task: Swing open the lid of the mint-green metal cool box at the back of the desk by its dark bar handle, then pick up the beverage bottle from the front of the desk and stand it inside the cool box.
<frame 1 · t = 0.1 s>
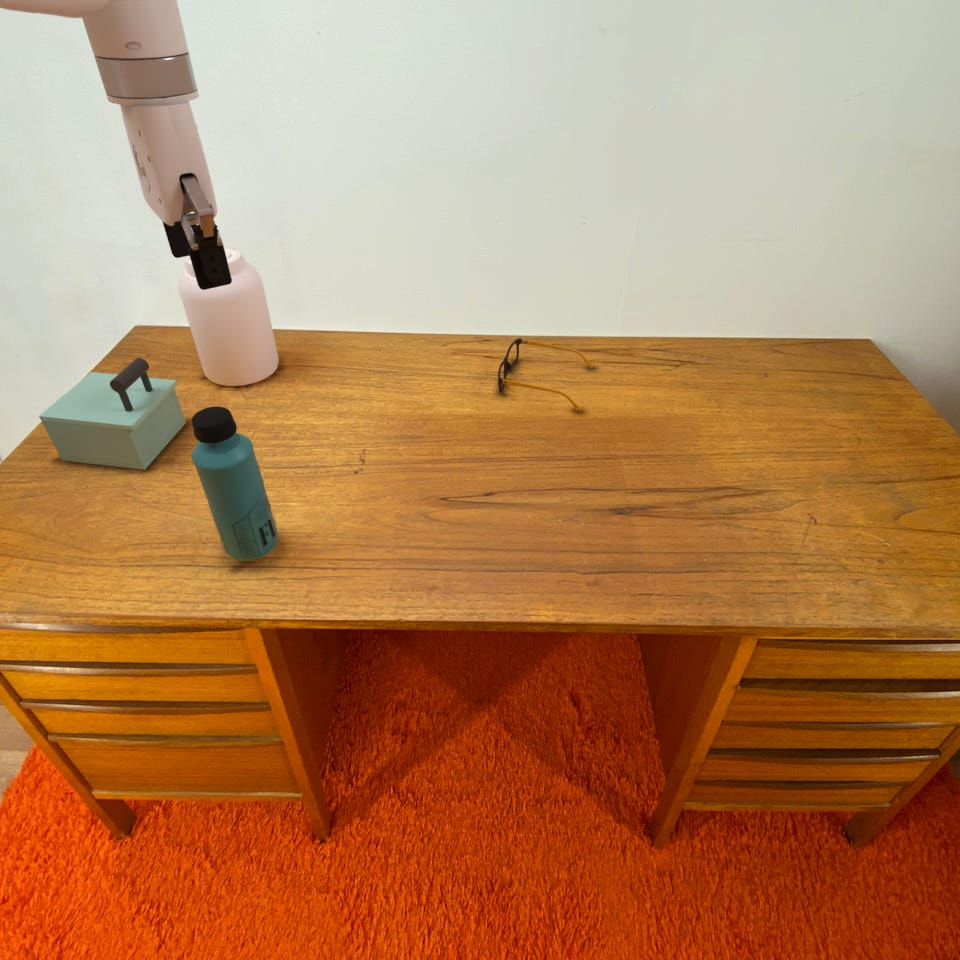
hand: (201, 269, 67), 30 cm above the table, tool pointing down, fingers open, 9 cm apart
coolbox: (126, 440, 94), on the table
lid: (104, 384, 88), point 10 cm above the table, hinge at 0.0°
eyeglasses: (544, 383, 108), on the table
beverage bottle: (254, 552, 78), on the table
can: (242, 369, 110), on the table
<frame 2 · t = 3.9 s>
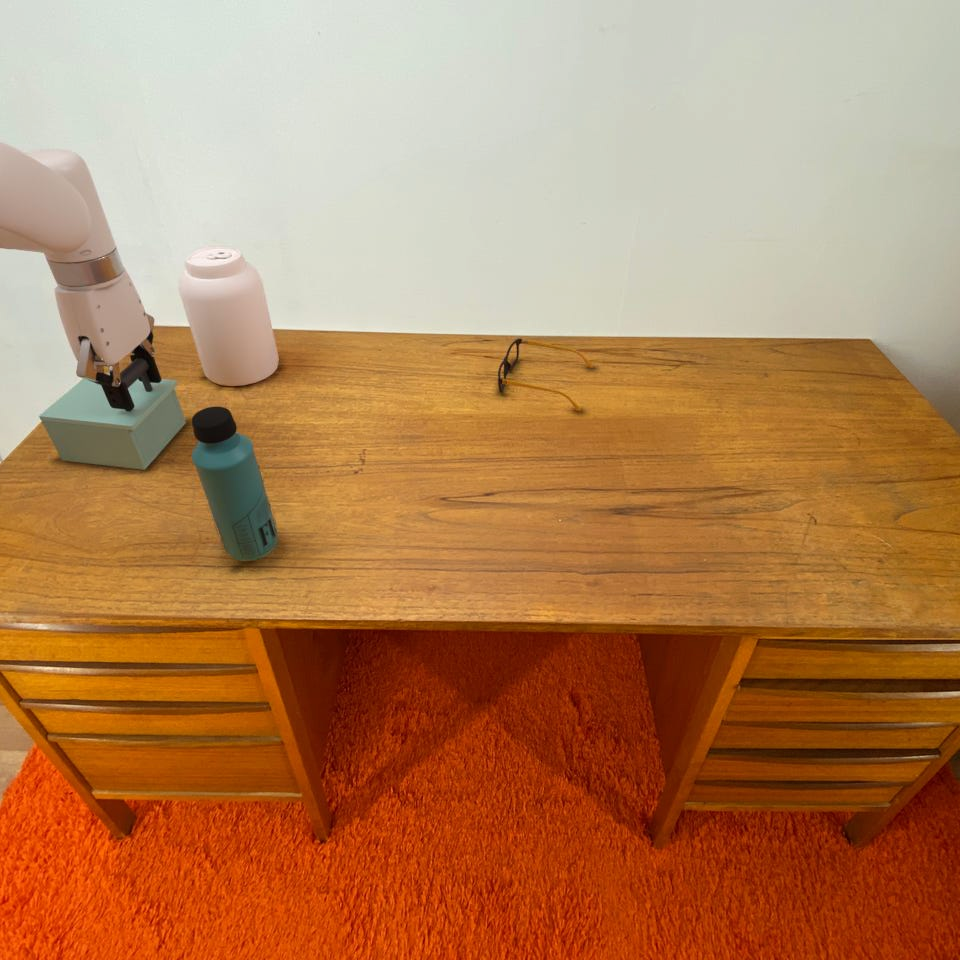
hand: (137, 393, 88), 9 cm above the table, tool pointing down, fingers closed on lid, 6 cm apart
lid: (104, 384, 88), point 10 cm above the table, hinge at 0.0°, touching gripper
everything else where it was.
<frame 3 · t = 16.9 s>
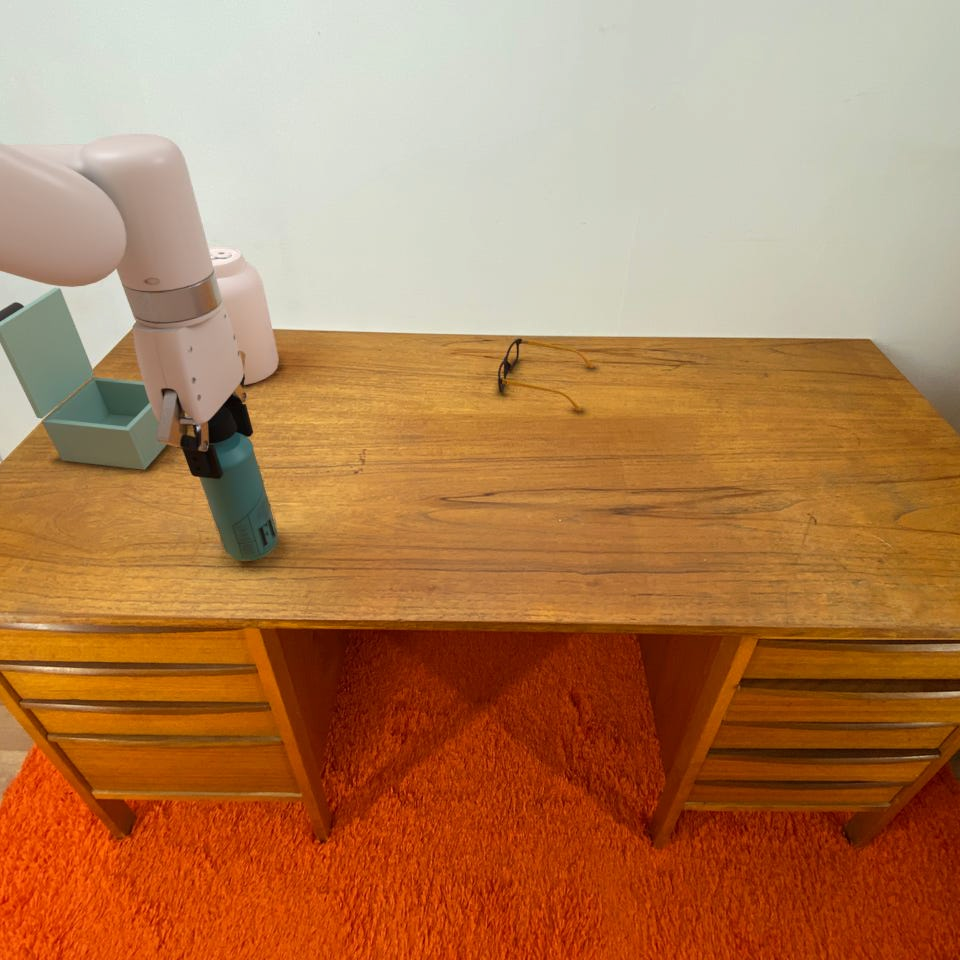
hand: (223, 453, 68), 15 cm above the table, tool pointing down, fingers closed on beverage bottle, 6 cm apart
lid: (31, 350, 86), point 14 cm above the table, hinge at 88.1°
beverage bottle: (254, 552, 78), on the table, touching gripper
everything else where it was.
when the fingers open (16 cm above the table, at t = 27.6 s): beverage bottle stays where it is, resting on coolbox.
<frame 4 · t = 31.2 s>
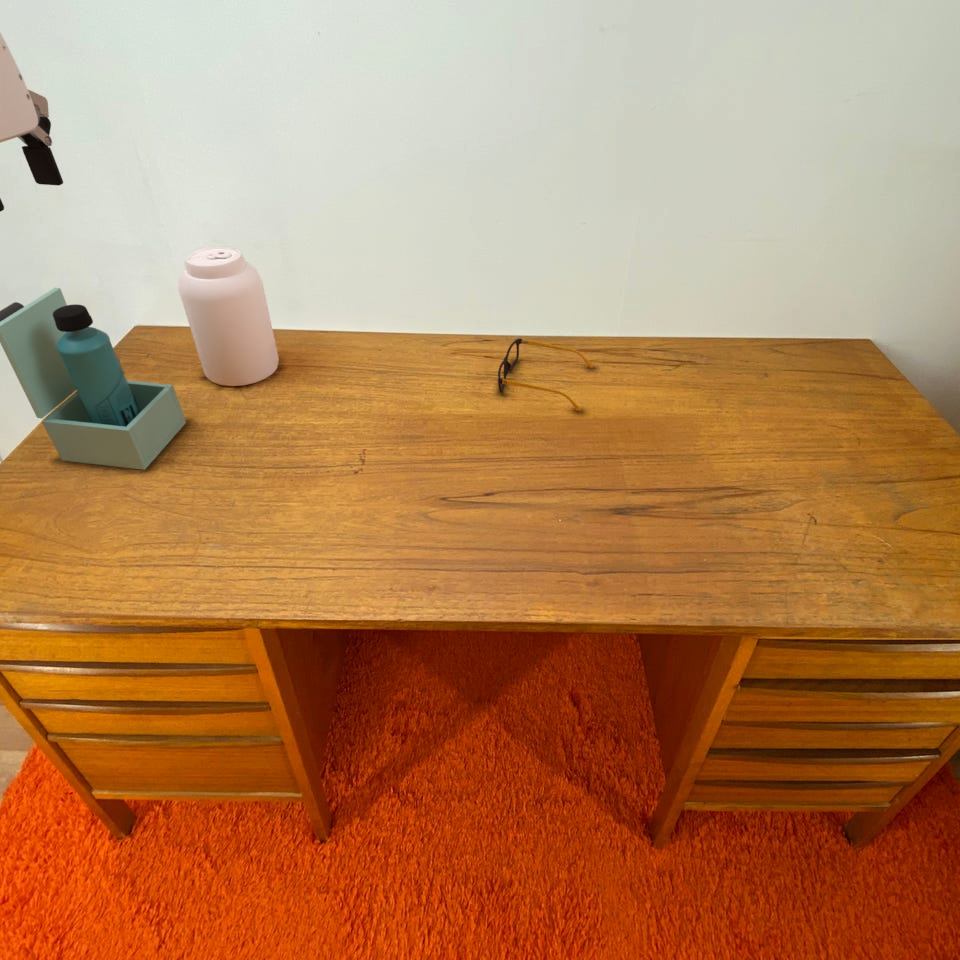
hand: (21, 196, 72), 34 cm above the table, tool pointing down, fingers open, 9 cm apart
beverage bottle: (124, 438, 93), point 1 cm above the table, touching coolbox
everything else where it was.
at the end: lid at +88° (first picture: +0°); beverage bottle 0.1 cm off-centre in the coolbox, point 0.6 cm above the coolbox's base; beverage bottle tilted 0° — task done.
